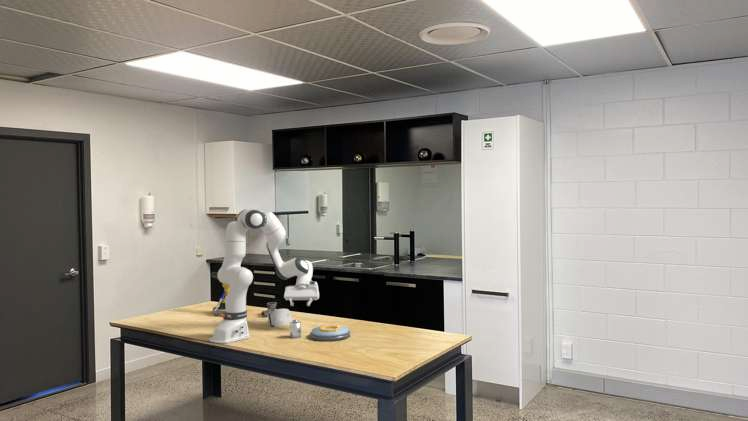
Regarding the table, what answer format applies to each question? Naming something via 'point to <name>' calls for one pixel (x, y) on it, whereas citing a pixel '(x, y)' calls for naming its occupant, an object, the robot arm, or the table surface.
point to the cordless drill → (221, 304)
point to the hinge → (279, 317)
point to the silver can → (295, 329)
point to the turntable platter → (329, 331)
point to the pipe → (269, 309)
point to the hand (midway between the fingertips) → (300, 305)
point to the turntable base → (329, 338)
